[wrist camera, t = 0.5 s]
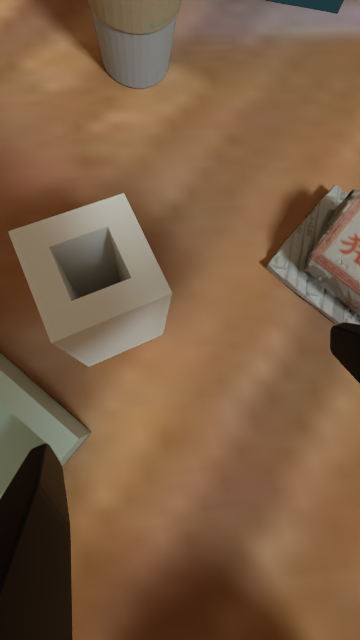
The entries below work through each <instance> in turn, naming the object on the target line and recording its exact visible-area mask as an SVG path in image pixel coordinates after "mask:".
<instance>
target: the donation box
mask: <svg viewBox="0 0 360 640" xmlns="http://www.w3.org/2000/svg"><path fill="white" fill-rule="evenodd" d="M268 1H272V2H277V3H282V4H288V5H295V6H301V7H306V8H312V9H315V10H321V11H327V12H332V13H338V11H339V9H340V7H341V5H342V3H343V1H344V0H268Z"/></svg>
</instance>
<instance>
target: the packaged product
mask: <svg viewBox="0 0 360 640" xmlns="http://www.w3.org/2000/svg"><path fill="white" fill-rule="evenodd" d="M266 269H267V270H268V271H269V272H270V273H272V274H273V275H274V276H275V277H276V278H277V279H278V280H280V281H281V282H282V283H283V284H285V285H286V286H287V287H289V288H290V289H291V290H293V291H294V292H295V293H297V294H298V295H299V296H301V297H302V298H303V299H305V300H306V301H307V302H308V303H310V304H311V305H312V306H313V307H315V308H316V309H317V310H318V311H320V312H321V313H322V314H323V315H324V316H326V317H327V318H328V319H329V320H330V321H331V322H333V323H334V324H335V325H337V324H340V323H343V322H347V323H353V324H360V190H352V191H351V192H350V193H349V194H347V193H346V192H345V191H343V190H342V189H341V188H340V187H339V186H337V185H334V186H333V187H332V188H331V190H330V191H329V192H328V193H327V194H326V195H325V196H324V197H323V198H322V199H321V200H320V201H319V203H318V204H317V206H316V207H315V208H314V210H313V211H312V212H311V213H310V214H309V216H308V217H307V218H306V219H305V220H304V221H303V222H302V223H301V224H300V225H299V226H298V227H297V228H296V229H295V231H294V232H293V233H292V234H291V235H290V236H289V238H288V239H287V240H286V241H285V242H284V243H283V245H282V246H281V247H280V248H279V250H278V251H277V252H276V254H275V255H274V257H273V258H272V260H271V261H270V262H269V264H268V265H267V267H266Z"/></svg>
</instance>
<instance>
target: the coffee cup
mask: <svg viewBox="0 0 360 640" xmlns="http://www.w3.org/2000/svg"><path fill="white" fill-rule="evenodd" d="M87 1H88V4H89V7H90V9H91V11H92V16H93V20H94V24H95V29H96V33H97V37H98V42H99V46H100V51H101V55H102V59H103V63H104V67H105V69H106V71H107V72H108V74H109V75H110V76H111V77H112V78H113V79H114V80H116V81H117V82H119V83H120V84H122V85H125V86H127V87H131V88H136V89H143V88H148V87H151V86H153V85H155V84H157V83H158V82H159V81H161V80H162V79H163V77H164V76H165V74H166V72H167V70H168V65H169V59H170V53H171V47H172V41H173V35H174V29H175V23H176V17H177V14H178V12H179V9H180V4H181V0H87Z"/></svg>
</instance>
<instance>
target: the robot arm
mask: <svg viewBox="0 0 360 640" xmlns="http://www.w3.org/2000/svg"><path fill="white" fill-rule="evenodd" d="M330 349H331V352H332V354H333V355H334V356H335V357H336V358H337V359H338V360H339V362H340V363H341V364H342V365H343V366H344V367H345V368H346V369H347V370H348V371H349V372H350V374H351V375H352V376H353V377H354V378H355V379H356V380H357V381H358V382H359V383H360V324H353V323H347V322H343V323H340V324H337V325H335V326H333V327H332V328H331V333H330ZM0 640H72V594H71V539H70V522H69V513H68V506H67V498H66V491H65V484H64V476H63V469H62V465H61V463H60V461H59V459H58V458H57V456H56V454H55V453H54V451H53V450H52V448H51V446H50V445H49V444H48V443H44V444H41V445H39V446H36V447H34V448H32V449H31V450H30V451H29V453H28V454H27V456H26V458H25V459H24V461H23V463H22V464H21V466H20V467H19V469H18V471H17V472H16V474H15V475H14V477H13V479H12V480H11V482H10V484H9V485H8V487H7V488H6V490H5V492H4V493H3V495H2V496H1V498H0Z"/></svg>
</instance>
